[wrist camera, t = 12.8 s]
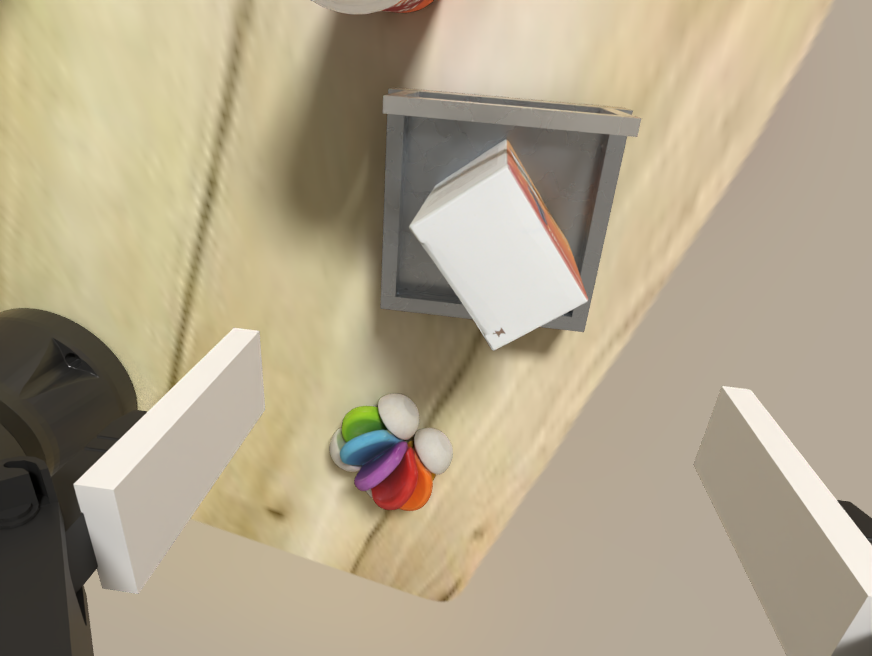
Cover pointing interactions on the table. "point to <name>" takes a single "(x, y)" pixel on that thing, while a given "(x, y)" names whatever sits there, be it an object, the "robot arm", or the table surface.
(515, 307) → the small box
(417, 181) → the grey storage bin
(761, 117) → the table surface
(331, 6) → the paper cup
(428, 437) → the rainbow segmented toy
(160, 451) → the robot arm
